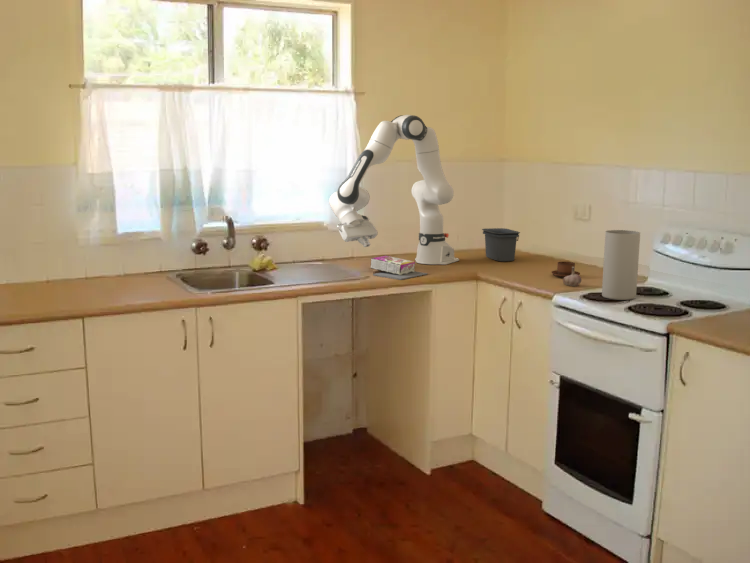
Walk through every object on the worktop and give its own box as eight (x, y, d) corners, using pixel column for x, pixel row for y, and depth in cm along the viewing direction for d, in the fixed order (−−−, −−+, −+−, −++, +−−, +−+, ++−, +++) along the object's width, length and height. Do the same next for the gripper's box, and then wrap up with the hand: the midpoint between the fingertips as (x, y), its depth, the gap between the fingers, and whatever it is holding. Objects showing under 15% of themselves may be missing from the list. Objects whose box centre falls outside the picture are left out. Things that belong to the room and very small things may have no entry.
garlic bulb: (579, 288, 328) (580, 268, 327) (561, 286, 331) (562, 267, 329) (582, 284, 335) (583, 265, 334) (563, 283, 338) (564, 264, 336)
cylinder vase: (642, 299, 306) (647, 233, 301) (613, 301, 302) (617, 234, 297) (623, 293, 317) (627, 229, 313) (595, 294, 314) (599, 230, 309)
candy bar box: (385, 254, 367) (415, 261, 357) (384, 265, 368) (414, 272, 358) (370, 257, 358) (401, 264, 348) (369, 268, 359) (400, 275, 350)
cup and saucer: (552, 273, 361) (553, 260, 360) (580, 275, 357) (581, 261, 356) (550, 278, 349) (550, 264, 348) (579, 280, 346) (579, 265, 345)
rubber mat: (400, 270, 366) (400, 268, 366) (427, 274, 356) (427, 273, 355) (372, 275, 353) (372, 273, 353) (400, 280, 343) (400, 278, 342)
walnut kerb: (394, 270, 366) (394, 267, 366) (396, 270, 365) (396, 267, 365) (372, 274, 356) (372, 270, 356) (374, 274, 355) (374, 271, 355)
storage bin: (478, 256, 408) (479, 228, 406) (507, 255, 412) (508, 227, 410) (495, 263, 388) (496, 233, 386) (525, 261, 392) (526, 232, 389)
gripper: (339, 219, 360) (355, 243, 356) (370, 216, 375) (386, 239, 371) (332, 228, 364) (347, 252, 360) (363, 225, 379) (378, 248, 374)
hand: (367, 245), depth 365 cm, fingers closed
